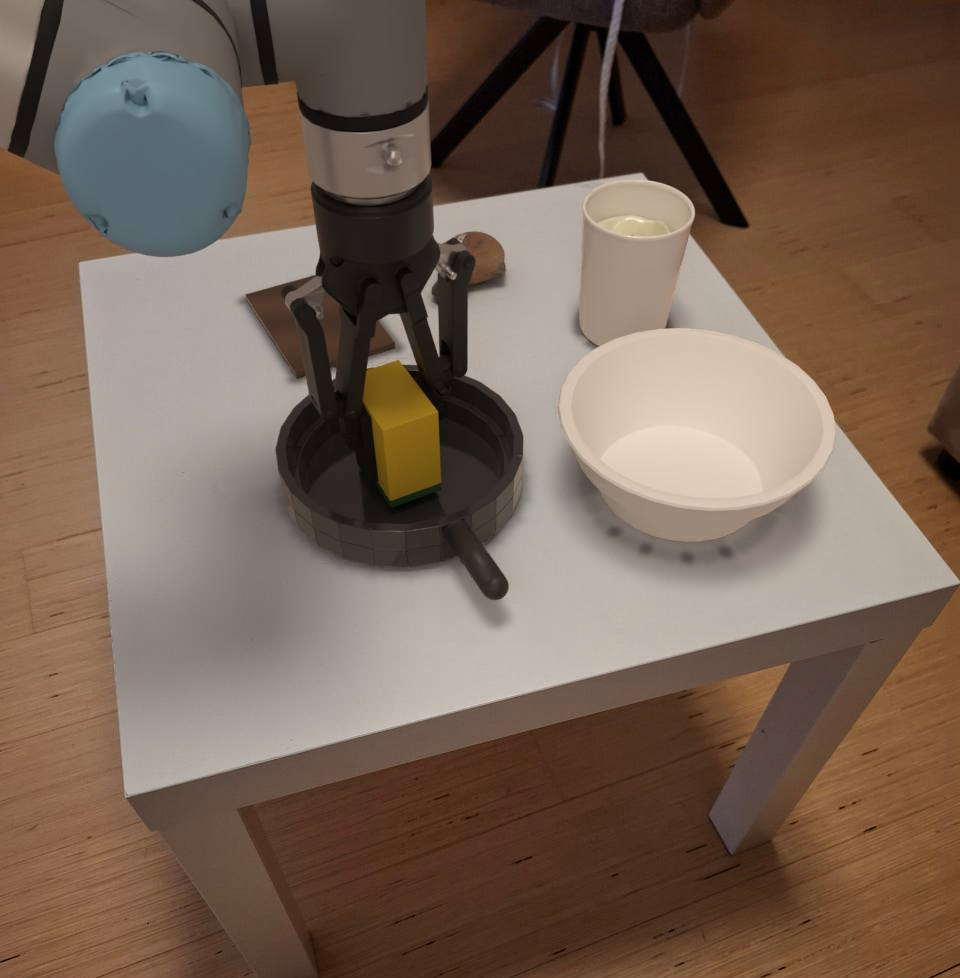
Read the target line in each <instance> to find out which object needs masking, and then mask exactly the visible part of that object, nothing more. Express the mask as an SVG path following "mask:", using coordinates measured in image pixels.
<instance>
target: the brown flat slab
mask: <svg viewBox="0 0 960 978" xmlns="http://www.w3.org/2000/svg"><path fill="white" fill-rule="evenodd" d="M314 277H316V274H313V275H310V276H307V277H304V278H303V277H302V278H299V279H296V280H292V281H289V282H286V283H282V284H278V285H274V286H271V287H267V288H263V289H260V290H255V291H252V292H249V293H246V294H245V300H246V302H247V303H248V304H249V306H250V307H251V309H252V311H253V312H254V314H255V315H256V317H257V319H258V320H259V322H260V323H261V325H262V326H263V328H264V330H265V331H266V333H267V334H268V336H269V338H270V339H271V340H272V342H273V344H274V345H275V347H276V349H278V351H279V353H280V354H281V356H282V358H283V359H284V360H285V362H286V364H287V365H288V367H289V369H290V370H291V372H292V373H293V375H294V377H295V378H296V379H299V378H302V377H306V376H305V370H304V365H303V360H302V355H301V350H300V345H299V340H298V334H297V329H296V324H295V319H294V316H293V314H292V313H291V311H290V310H289V308H288V307H287V305H286V304H285V302H284V301H283V299H282V297H281V291H282V289H283V288H284V287H285V286H287V285H294V286H295V287H296V288H297V289H298V288H300V287H301V286H303V285H304V284H305V283H307V282H308V281H310V280H311V279H313V278H314ZM323 306H324V312H323V314H324V317H323V319H321V320H319V322H320V324H321V326H322V328H323V331H324V335H325V340H326V346H327V352H328V358H329V364H330V369H331V368H334V367H337V357H338V347H339V338H340V328H341V318H340V314H339V307H340V304H339V303H338V302H337V301H335V300H334V299H333V298H332V297H331V296H330V295H329V294H328V295H327V296H326V297H325V298H324V300H323ZM395 348H396V342H395V341H394V340H393V338H392V337H391V336H390V334H389V333H388V331H387V330H386V329H385V328H384V326H383V325H382V324H381V322H380V320H378V321H377V322H376V329H375V335H374V337H373V338H371V341H370V348H369V356H368V357H370V356H374V355H376V354H379V353H383V352H387V351H390V350H392V349H395Z"/></svg>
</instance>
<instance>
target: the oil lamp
mask: <svg viewBox="0 0 960 978" xmlns="http://www.w3.org/2000/svg"><path fill="white" fill-rule="evenodd" d="M452 238H456V239H458V240H459V241H460V243H461V244H462V245H463V246H464V247H465V248H466V249H467V250H468V251H469V252H470V253H471V254H472V255H473V256H474V258H475V260H476V263H475V267H474V270H473V273H472V276H471V279H470V282H469V285H468V286H470V285H477V284H479V283H481V282H486V281H489V280H491V279H494V278H497V277H499V278H500V277H501V276H503V275H504V274H505V273H506V272H507V269H506V262H505V260H506V259H505V258H506V255H505V250H504V248H503V245H502V244H501V242H500V241H499V240H498V239H496V238H495V237H493V236H492V235H491V234H488V233H486V232H483V231H476V230H475V231H473V230H472V231H471V230H470V231H465V232H462V233H459V234H456V235H455V236H453V237H451V238H450V239H452ZM450 239H448V240H446V241H444V242H442V243H441V244H446V243H447V242H448V241H449V240H450ZM431 294H432V296H433V297H435V298H437V299H438V283H437V281H435V283H434V284H433V285H432V286H431Z"/></svg>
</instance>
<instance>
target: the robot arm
mask: <svg viewBox="0 0 960 978" xmlns="http://www.w3.org/2000/svg"><path fill="white" fill-rule="evenodd" d="M426 7H427V6H426V0H0V149H3V150H5V151H7V152H8V153H10V154H13V155H15V156H17V157H20V158H22V159H24V160H26V161H28V162H29V163H32V164H33V165H35V166H36V167H37V166H38V167H39V168H42V169H44V170H47V171H49V172H52V173H54V174H56V175H58V176H60V180H61V182H62V186H63V188H64V191H65V192H66V195H67V197H68V200H70V202H71V204H72V206H73V207H74V209H75V210H76V211H77V212H78V213H79V214H80V215H81V216H82V217H83V219H85V221H86V222H87V223H88V224H89V225H90V226H91V227H92V228H94V230H95V231H97V233H100V234H101V236H102V237H103V238H104V239H106V240H107V241H109V242H111V243H112V244H114V245H116V246H118V247H120V248H122V249H124V250H126V251H130V252H132V253H136V254H140V255H142V256H147V257H156V258H174V257H182V256H187V255H192V254H194V253H197V252H200V251H202V250H205V249H206V248H208V247H209V246H212V245H213V244H215V242H217V241H218V240H220V239H221V238H222V237H223V236H224V235H225V234H226V233H227V232H228V231H229V230H230V228H231V227H232V225H233V224H234V222H236V220H237V218H238V216H239V215H240V214H241V213H242V210H243V205H244V202H245V198H246V192H247V185H248V170H249V169H248V168H249V164H250V158H249V153H250V149H251V147H252V137H251V132H250V130H251V125H250V123H249V120H248V117H247V114H246V112H245V107H244V97H243V88H249V87H250V88H251V87H252V88H253V87H261V86H273V85H279V83H290V82H292V83H293V82H294V84H295V87H296V97H297V104H298V108H299V115H300V123H301V131H302V139H303V146H304V155H305V162H306V170H307V174H308V177H309V179H311V181H312V182H311V184H310V194H311V202H312V209H313V214H314V222H315V223H314V224H315V229H316V236H317V243H318V249H319V257H318V260H317V263H316V266H315V275H316V277H314V278H313V279H311V280H310V281H308V282H307V283H305V284H304V285H303V286H301V287H300V288H298V289H297V288H296V287H295V286H294V285H287V286H285V287H284V288H283V289H282V291H281V297H282V299H283V301H284V302H285V304H286V305H287V307H288V308H289V310H290V311H291V313H292V314H293V316H294V319H295V324H296V329H297V334H298V340H299V345H300V350H301V355H302V360H303V365H304V370H305V376H304V377H305V381H306V386H307V390H308V395H309V396H310V399H311V401H312V403H313V404H314V406H315V407H316V409H317V410H318V412H319V414H320V415H321V417H322V418H323V419H324V420H325V421H331V420H333V419H335V418H336V417H339V424H340V431H341V436H342V438H343V439H344V441H345V442H346V444H347V445H348V447H349V448H350V450H351V451H352V450H355V453H356V461H357V464H358V466H359V467H360V469H361V470H362V472H363V474H364V475H365V477H366V478H367V480H368V481H369V483H370V484H372V483H375V482H377V481H379V480H378V472H377V463H376V454H375V446H374V437H373V428H372V420H371V416H370V414H369V413H368V412H367V410H366V409H365V407H364V406H363V404H362V402H363V394H364V387H365V379H366V371H367V368H368V363H369V357H370V356H369V348H370V341H371V338H373V337H374V335H375V329H376V322H377V321H380V320H381V319H384V318H385V317H387V316H389V315H399V316H400V320H401V323H402V325H403V328H404V332H405V334H406V338H407V340H408V341H407V342H408V344H409V346H410V349H411V352H412V355H413V358H414V361H415V365H417V367H418V370H419V372H420V374H421V375H422V379H421V378H420V377H419V376H417V377H414V378H413V379H414V381H415V382H416V383H417V385H418V386H419V387H420V389H421V390H422V391H423V393H424V394H425V395H426V396H427V398H428V399H429V400H430V402H431V403H432V404H433V406H434V407H435V408H436V410H437V411H438V420H442V419H443V418H444V415H445V404H444V403H445V401H444V397H446V396H447V395H449V393H450V391H451V387H450V386H449V384H448V383H447V382H448V381H449V380H450V379H452V378H453V377H456V378H461V377H463V376H464V375H465V376H466V375H467V373H468V368H469V367H468V366H469V365H468V363H469V361H468V360H469V359H468V358H469V355H468V354H469V353H468V352H469V349H468V348H469V346H468V345H469V323H468V322H469V292H468V291H469V286H470V285H469V282H470V279H471V276H472V273H473V270H474V267H475V263H476V260H475V258H474V256H473V255H472V254H471V253H470V252H469V251H468V250H467V249H466V248H465V247H464V246H463V245H462V244H461V243H460V241H459V240H458V239H456V238H453V237H451V238H452V239H451V238H450V239H448V240H449V241H448V240H447V241H448V242H447V243H446V244H442V243H440V242H437V240H436V239H435V236H434V231H435V218H434V192H433V180H432V178H431V176H430V172H431V167H432V149H431V147H432V146H431V125H430V123H431V122H430V100H429V81H428V46H427V45H428V44H427V39H428V38H427V10H426ZM434 270H436V272H437V278H436V279H437V280H436V282H437V283H438V298H437V309H438V310H437V313H438V314H437V315H438V317H437V318H438V319H437V320H438V350H437V346H436V344H435V340H434V337H433V334H432V331H431V327H430V325H429V322H428V318H429V315H428V311H427V308H426V305H425V302H424V298H423V296H422V293H423V291H424V289H425V286H426V285H427V283H428V281H429V280H430V278H431V276H432V274H433V272H434ZM328 294H329V295H330V296H331V297H332V298H333V299H334V300H335V301H337V302H338V303H339V304H340V307H339V314H340V318H341V328H340V338H339V347H338V357H337V366H335V377H334V379H335V386H334V388H333V382H332V380H333V377H332V371H331V370H332V369H331V368H330V364H329V358H328V352H327V346H326V340H325V335H324V331H323V328H322V326H321V324H320V322H319V320H321V319H323V317H324V314H323V312H324V306H323V300H324V298H325V297H326V296H327V295H328Z"/></svg>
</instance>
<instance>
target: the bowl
mask: <svg viewBox="0 0 960 978" xmlns="http://www.w3.org/2000/svg"><path fill="white" fill-rule="evenodd" d="M557 411H558V412H557V413H558V417H559V424H560V428H561V430H562V432H563V434H564V436H565V438H566V441H567V443H568V445H569V447H570V449H571V451H572V453H573V455H574V457H575V459H576V461H577V463H578V465H579V467H580V469H581V471H582V472H583V473H584V474H585V476H586V477H587V478H588V479H589V481H590V482H591V483H592V485H594V486H595V487H596V488H597V489H598V492H599V493H600V495H601V498H602V499H603V502H604V503H605V504H606V506H607V507H608V508H609V510H610V511H611V512H612V513H613V514H614V515H616V516H617V517H618V518H619V519H620V520H621V521H623V522H624V523H625V524H627V525H629V526H631V527H633V528H634V529H636V530H637V531H640V532H643V533H644V534H647V535H649V536H652V537H656V538H660V539H663V540H668V541H676V542H685V543H689V542H707V541H712V540H716V539H720V538H721V539H722V538H724V537H726V536H728V535H731V534H733V533H735V532H737V531H738V530H740V529H742V528H743V527H745V526H746V525H747V524H748V523H749V522H750V521H752V520H755V519H757V518H760V517H763V516H765V515H768V514H770V513H772V512H773V511H774V510H776V509H778V508H779V507H781V506H783V505H784V504H785V503H787V502H788V501H789V500H791V499H792V498H793V497H794V496H796V495H797V494H798V493H799V492H801V491H802V490H804V489H805V488H807V487H808V486H809V485H810V484H811V483H812V482H813V481H814V480H815V479H816V478H817V477H818V476H819V475H820V474H821V473H822V472H823V471H824V469H825V468H826V466H827V464H828V463H829V461H830V459H831V458H832V455H833V453H834V448H835V443H836V438H837V429H836V422H835V414H834V412H833V410H832V408H831V405H830V403H829V400H828V398H827V396H826V395H825V394H824V392H823V391H822V389H821V388H820V387H819V385H818V384H817V382H816V381H815V380H814V379H813V378H812V377H811V376H810V375H809V374H807V372H805V371H804V370H803V368H801V367H800V366H799V365H798V364H796V363H794V362H793V361H791V360H790V359H788V358H787V357H785V356H783V354H780V353H779V352H778V351H775V350H773V349H771V348H768V347H766V346H764V345H762V344H760V343H758V342H755V341H752V340H749V339H746V338H743V337H741V336H737V335H734V334H729V333H725V332H720V331H715V330H709V329H701V328H690V327H688V328H687V327H674V328H673V327H672V328H671V327H669V328H668V327H667V328H665V329H655V330H648V331H642V332H636V333H633V334H629V335H626V336H623V337H619V338H616V339H614V340H612V341H610V342H607V343H605V344H603V345H601V346H597V347H596V348H594V349H593V350H591V351H589V353H587V354H586V355H585V356H583V357H582V358H581V359H580V360H578V362H577V363H576V364H575V365H574V367H573V368H572V369H571V370H570V371H569V372H568V374H567V376H566V378H565V380H564V382H563V384H562V386H561V388H560V390H559V398H558V404H557Z"/></svg>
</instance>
